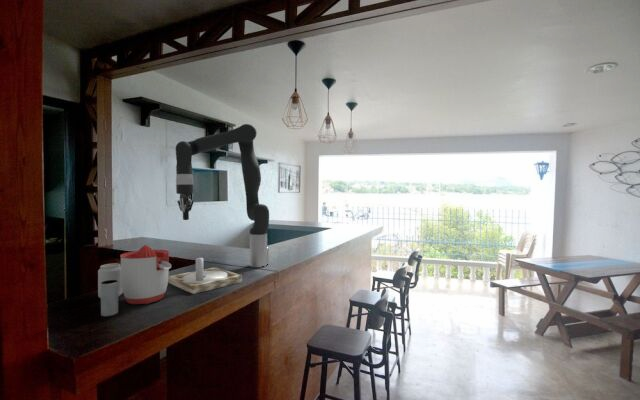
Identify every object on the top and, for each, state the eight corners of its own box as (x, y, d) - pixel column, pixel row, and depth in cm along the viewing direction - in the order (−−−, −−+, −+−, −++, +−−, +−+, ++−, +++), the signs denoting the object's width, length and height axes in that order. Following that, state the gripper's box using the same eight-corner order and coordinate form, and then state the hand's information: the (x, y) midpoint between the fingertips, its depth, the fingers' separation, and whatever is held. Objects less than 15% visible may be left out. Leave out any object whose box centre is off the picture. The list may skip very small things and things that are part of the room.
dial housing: (215, 273, 149) (215, 266, 149) (242, 282, 134) (242, 274, 134) (168, 283, 132) (168, 275, 132) (192, 294, 117) (192, 286, 117)
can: (113, 300, 111) (113, 267, 110) (93, 300, 111) (92, 266, 110) (127, 293, 118) (126, 262, 118) (107, 293, 118) (107, 262, 118)
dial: (193, 273, 142) (193, 251, 142) (232, 273, 142) (232, 251, 142) (175, 284, 124) (175, 259, 124) (219, 284, 124) (219, 259, 124)
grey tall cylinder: (115, 309, 101) (115, 278, 101) (120, 313, 98) (120, 281, 98) (99, 314, 98) (98, 281, 98) (103, 317, 95) (103, 284, 95)
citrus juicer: (152, 309, 102) (152, 249, 101) (108, 305, 105) (108, 247, 105) (182, 294, 117) (182, 242, 117) (143, 291, 120) (143, 240, 120)
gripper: (198, 183, 145) (199, 219, 146) (186, 184, 154) (187, 218, 155) (182, 183, 140) (183, 221, 140) (171, 184, 149) (172, 219, 149)
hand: (185, 219), depth 148 cm, fingers closed
